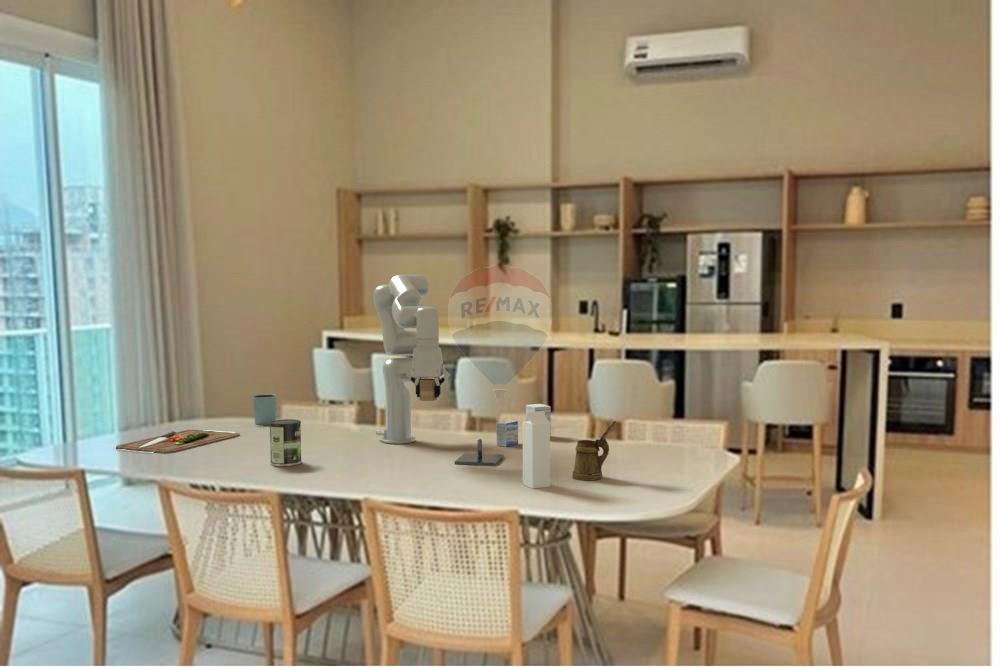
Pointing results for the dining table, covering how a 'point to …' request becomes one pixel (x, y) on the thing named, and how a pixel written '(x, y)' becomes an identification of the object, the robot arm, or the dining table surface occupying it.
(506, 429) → the medicine box
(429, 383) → the cylinder
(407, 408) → the robot arm
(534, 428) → the milk
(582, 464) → the wooden mug
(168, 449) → the chopping board
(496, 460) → the holder
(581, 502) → the dining table surface
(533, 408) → the supplement box
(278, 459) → the coffee can
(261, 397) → the blue cup
